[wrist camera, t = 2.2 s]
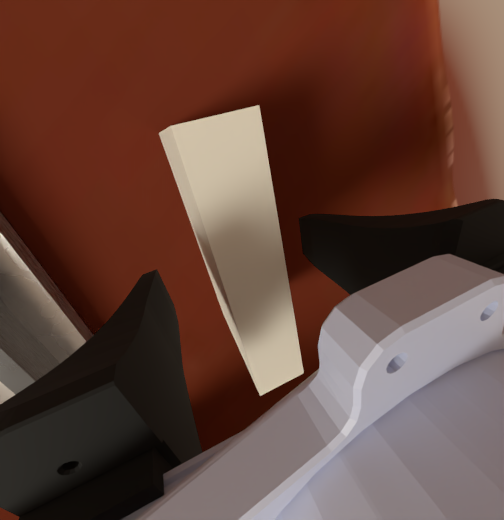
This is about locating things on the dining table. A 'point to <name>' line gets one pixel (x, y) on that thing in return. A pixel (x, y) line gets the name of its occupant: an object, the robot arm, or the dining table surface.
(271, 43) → the dining table surface
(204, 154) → the door panel
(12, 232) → the bottom track
